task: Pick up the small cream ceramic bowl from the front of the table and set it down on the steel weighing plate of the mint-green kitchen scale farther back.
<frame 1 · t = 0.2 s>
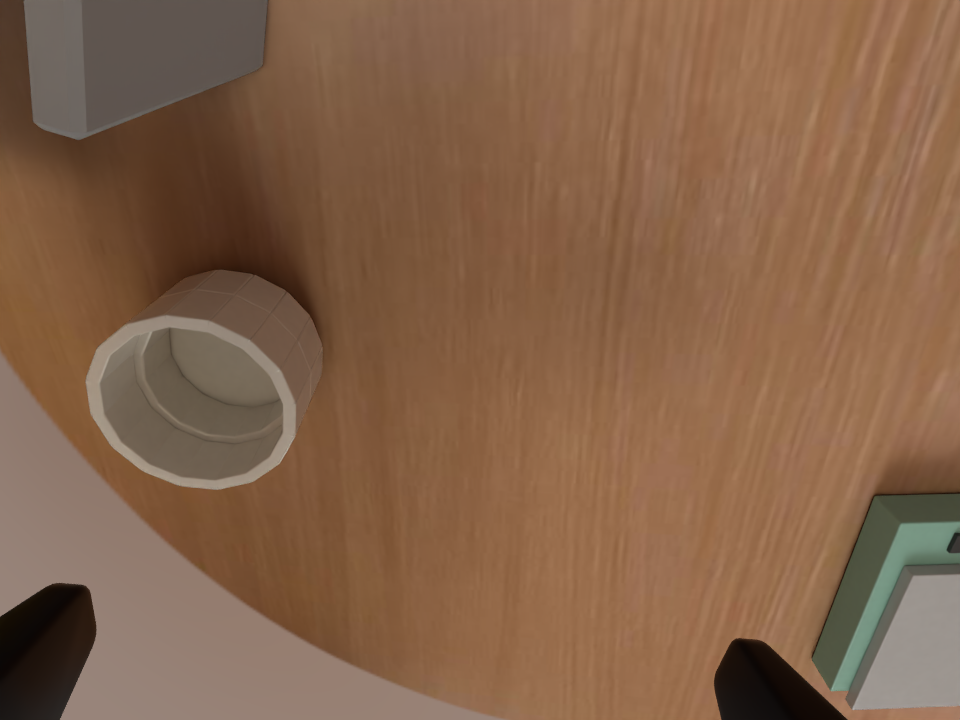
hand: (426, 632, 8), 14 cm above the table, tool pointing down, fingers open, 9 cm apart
kitchen scale: (949, 581, 29), on the table
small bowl: (242, 344, 22), on the table
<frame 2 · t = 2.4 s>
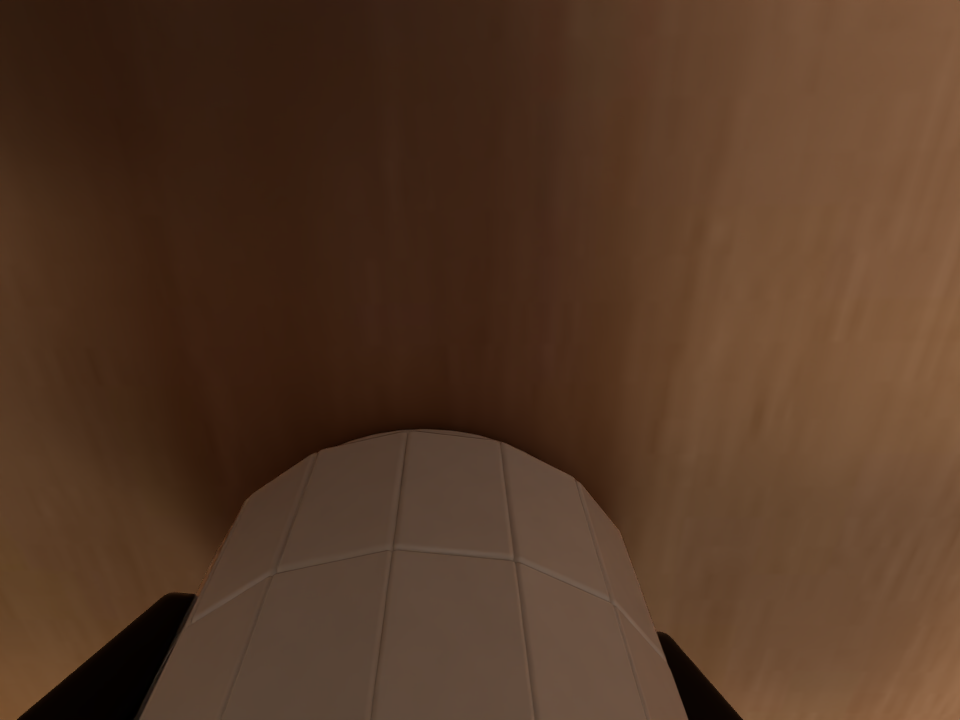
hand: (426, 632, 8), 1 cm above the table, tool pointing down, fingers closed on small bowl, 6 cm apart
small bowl: (427, 575, 9), on the table, touching gripper
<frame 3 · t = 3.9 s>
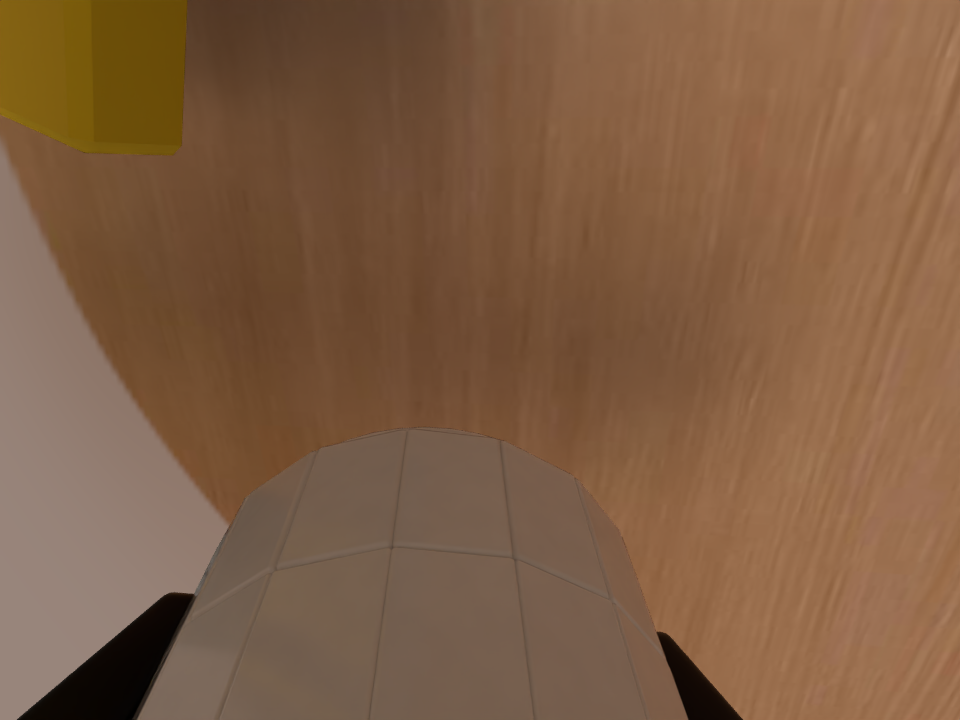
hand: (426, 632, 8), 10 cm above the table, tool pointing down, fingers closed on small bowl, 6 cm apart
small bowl: (426, 573, 9), point 8 cm above the table, touching gripper
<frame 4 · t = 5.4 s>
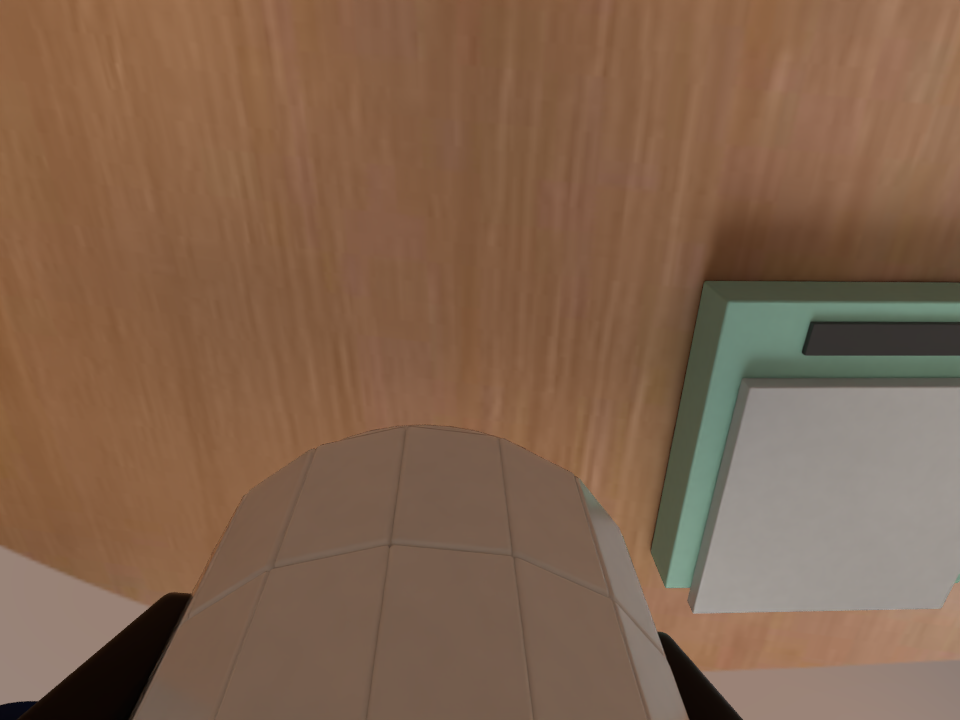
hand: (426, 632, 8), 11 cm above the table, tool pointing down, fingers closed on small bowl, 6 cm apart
kitchen scale: (828, 431, 20), on the table
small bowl: (426, 572, 9), point 10 cm above the table, touching gripper
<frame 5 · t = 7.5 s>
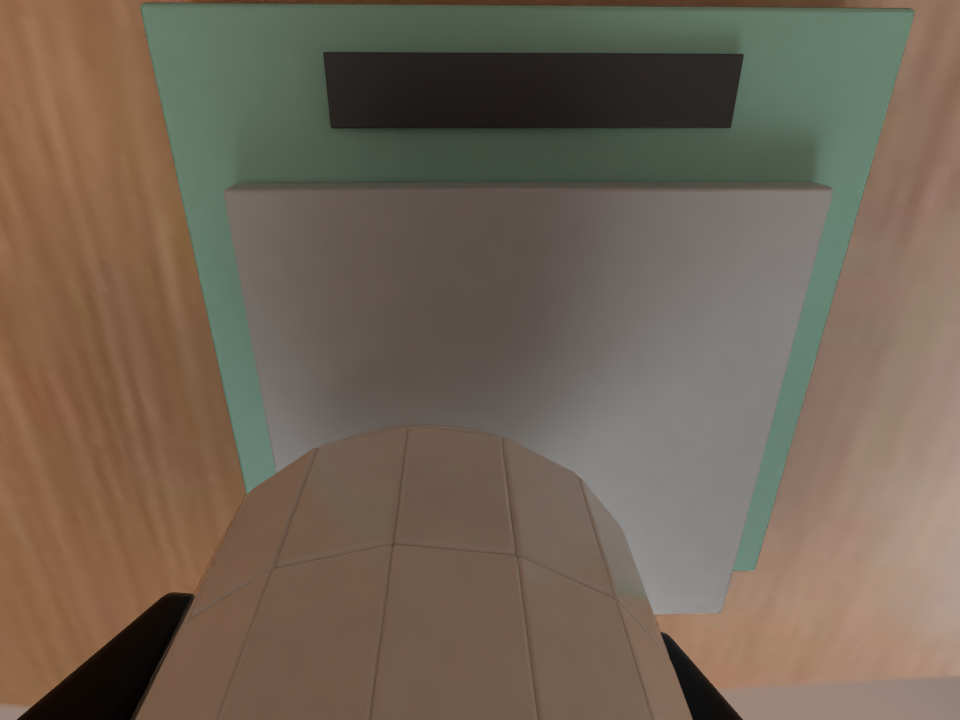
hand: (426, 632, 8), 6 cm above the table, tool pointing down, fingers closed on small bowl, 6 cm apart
kitchen scale: (513, 319, 12), on the table
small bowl: (428, 572, 9), point 5 cm above the table, touching gripper
when the fingers open (3 cm above the table, at t = 8.7 s): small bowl stays where it is, resting on kitchen scale.
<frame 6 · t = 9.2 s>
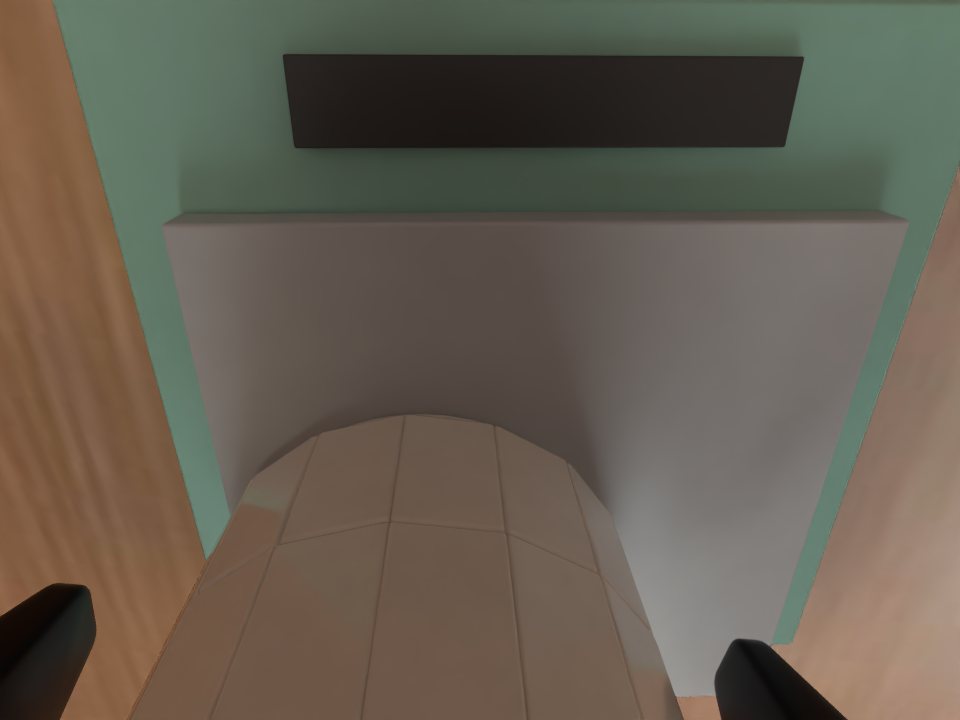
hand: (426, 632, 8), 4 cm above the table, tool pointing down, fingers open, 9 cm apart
kitchen scale: (517, 362, 11), on the table
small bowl: (424, 557, 9), point 2 cm above the table, touching kitchen scale
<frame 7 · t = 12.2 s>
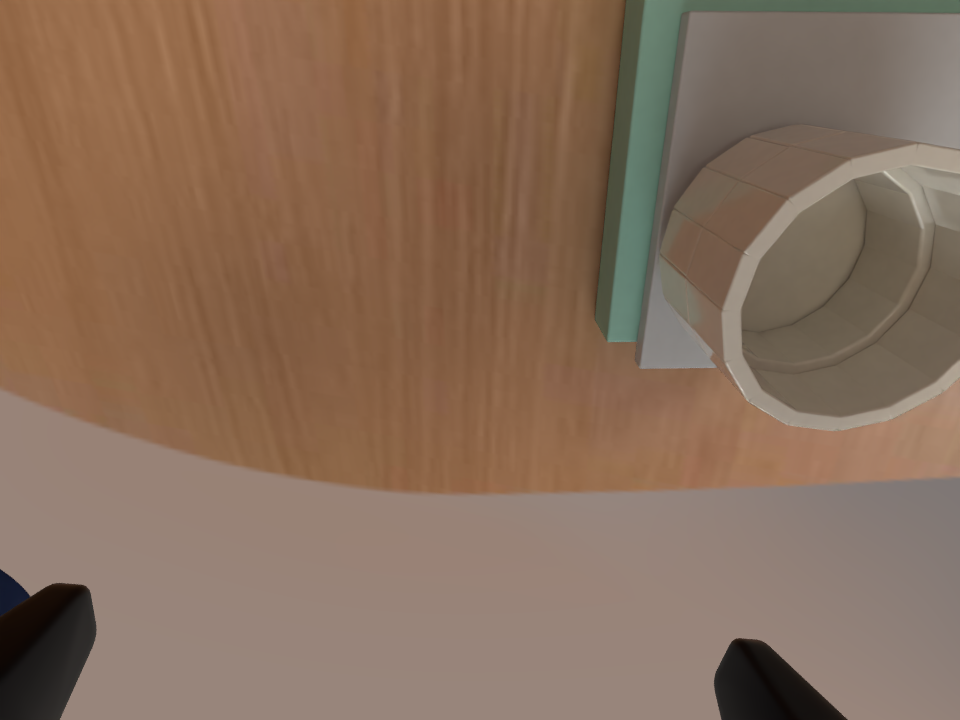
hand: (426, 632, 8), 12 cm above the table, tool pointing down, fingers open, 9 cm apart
kitchen scale: (798, 143, 17), on the table
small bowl: (764, 243, 16), point 2 cm above the table, touching kitchen scale
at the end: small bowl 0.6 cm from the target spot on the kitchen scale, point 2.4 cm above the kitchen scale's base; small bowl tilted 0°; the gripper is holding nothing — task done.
